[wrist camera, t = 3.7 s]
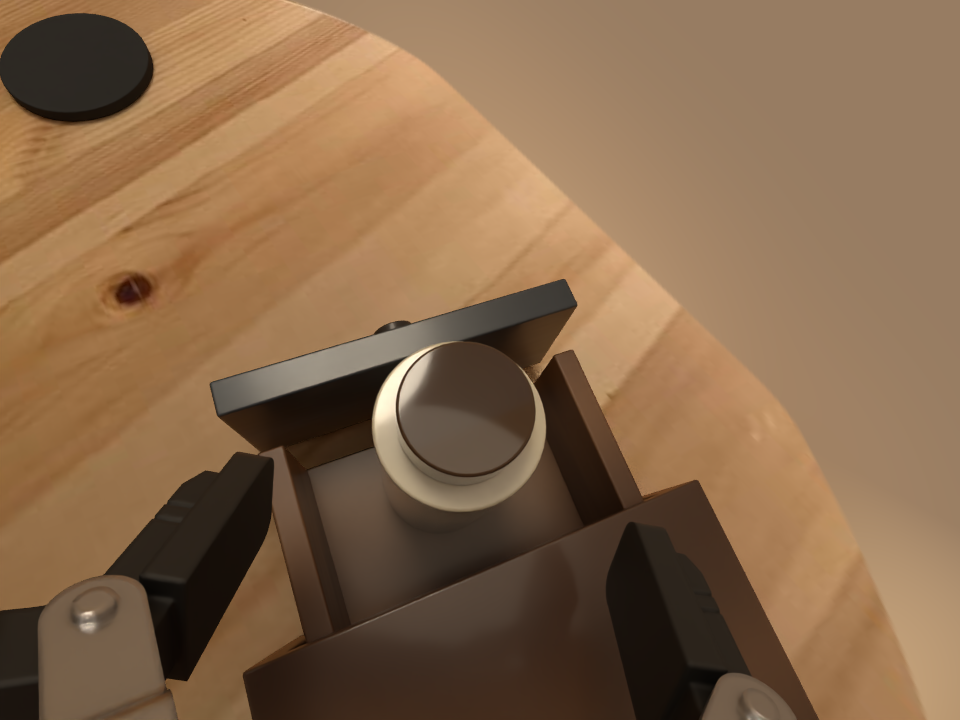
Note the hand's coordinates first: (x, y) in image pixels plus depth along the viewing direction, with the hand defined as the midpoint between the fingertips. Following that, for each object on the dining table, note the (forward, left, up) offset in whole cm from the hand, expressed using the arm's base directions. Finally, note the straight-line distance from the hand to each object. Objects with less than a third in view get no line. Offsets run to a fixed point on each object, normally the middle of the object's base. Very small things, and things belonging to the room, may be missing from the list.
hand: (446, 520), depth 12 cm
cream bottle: (-1, +2, -9) cm, 9 cm away
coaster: (-30, +7, -11) cm, 32 cm away
